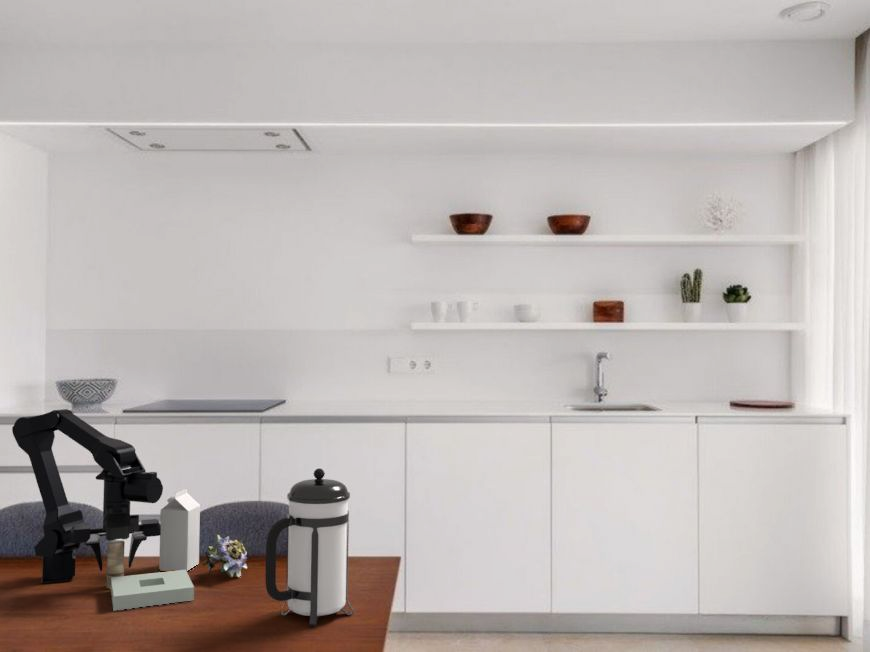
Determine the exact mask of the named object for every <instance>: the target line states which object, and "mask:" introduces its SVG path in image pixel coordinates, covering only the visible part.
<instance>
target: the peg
mask: <svg viewBox="0 0 870 652" xmlns="http://www.w3.org/2000/svg"><path fill="white" fill-rule="evenodd" d="M106 549H107V551H106V587H108V588H111V577H121V576H125V541H124V540H122V539H116V540H111V541H108V542H107V548H106Z"/></svg>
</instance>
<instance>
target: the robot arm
mask: <svg viewBox="0 0 870 652" xmlns="http://www.w3.org/2000/svg"><path fill="white" fill-rule="evenodd" d="M11 431H12V436H13V437H14V439H15V442H16V443H17V447H19V448H20V449H21V450H22V451H23V452H24V453H25V454H27V455H28V457H29V461H30V463H31V467H32V471H33V474H34V477H35V480H36V483H37V487H38V490H39V494H40V497H41V501H42V503H43V506H44V510H45V517H44V521H43V525H42V529H43V535H44V536H43V537H42V538H41V539H40V540H39V541H38V543H37V544H36V545H34V552H35V556H36V557H41V558H42V571H41V573H42V575H41V581H40V583H42V585H43V584H51V583H52V584H54V583H53V582H55V583H62V582H63V581H64V582H72V581H73V580H74V577H75V576H76V555H74V553H73V552H74V550H79V549H80V548H81V545H82V543H84V545H85V546H90V548H91V549H92V551H93V553H94V556H95V559H96V562H97V565H98V568H99V571H103V560H102V551H101V550H102V549H101V543H100V537H104V536H105V540H107V541H108V542H110V541H115V540H128V539H129V538H130V537H131V538H130V543H129V553H128V559H127V561H128V562H127V564H128V568H129V569H130V568H132V565H133V562H134V559H135V555H136V553H137V550H138V549H139V546H140V545H141V544H142V542H143V541H145V542H146V541H147V540H148V538H149V537H158V536H159V537H160V535H161V525H160V520H158V518H153V519H141V520H140V516H139V515H140V514H132V515H131V502H136V503H144V504H145V503H147V504H156V503H157V502H158V501H159V500H160V499H161V498H162V495H163V492H164V491H163V490H164V485H163V484H162V480H161V479H160V478H159V477H158V471H149V472H146V471H147V470H146V469H145V466H144V465H143V464H142V462H141V460H140V458H139V457H138V455H137V453H136V449H135V446H133V445H132V444H130V443H128V442H126V441H124V440H121V439H118V438H115V437H114V438H113V437H109V436H107V435H105V433H102V432H101V431H99V430H97V429H96V428H95V427H94V426H92V425H91V424H89V423H88V422H86V421H85V420H83V419H81V418H80V417H79V416H77V415H75V414H74V412H73V411H72V410H70V409H68V408H63V409H53V410H51V411H49V412H46V413H44V414H43V413H42V414H39V415H31V416H30V415H29V416H21V417H19V418H17V419H16V420H15V421H14V424H13V426H12V429H11ZM56 431H59V432H61V433H62V434H64V435H65V436H66V437H68V438H69V439H71V440H72V441H74V442H75V443H77V444H79V446H81V447H82V448H84V449H85V450H87V451H88V452H89V453H90V454H91V455H92V458H93V461H94V462H95V463H96V464H97V465H98V466H99V467H100V468H101V469H102V470H101V471H100V473H98V474H97V475H96V476H95V479H96V480H99V481H103V499H102V501H103V503H102V504H103V506H102V527H92V528H91V524H90V523H89V524H86V522H85V520H84V517H83V512H82V510H81V509H77V510H74V508H72V507H71V506H70V505H69V501H68V498H67V494H66V492H65V488H64V484H63V482H62V479H61V476H60V475H61V474H60V471H59V469H58V465H57V462H56V460H55V459H56V458H55V456H54V453H53V446H54V441H55V438H56V437H55V432H56ZM130 534H131V536H130ZM71 580H72V581H71Z"/></svg>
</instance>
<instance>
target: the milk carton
mask: <svg viewBox="0 0 870 652" xmlns="http://www.w3.org/2000/svg"><path fill="white" fill-rule="evenodd" d="M166 501H167V502H168V503H167V504H166V505H164V507H162V508H161V509H160V520H159V523H160V525H161V535H159V557H158V558H159V565H158V566H159V567H158V569H160V570H175V571H177V570H186V571H188V570H190V569H191V568H193V567H194V566H196V565H198V564H199V563H200V529H201V528H200V519H201V517H200V516H201V504H200V503H199V502H198V501H196V500H195V499H194V497H192V496H191V495H190V494H189V493H188V488H184V489H183V490H180V491H178V492H175V493H174V495H172V496H170V497H169V498H168V499H167V500H166ZM199 565H200V564H199ZM199 565H198V566H199ZM196 567H197V566H196ZM193 569H194V568H193ZM190 571H191V570H190Z"/></svg>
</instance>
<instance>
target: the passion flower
mask: <svg viewBox="0 0 870 652" xmlns="http://www.w3.org/2000/svg"><path fill="white" fill-rule="evenodd" d="M215 536H216V541H217V544H215V547H216V548H214V546H208V547H207V549H206V550H205V551H204V555H205V556H206V558H207V559H205V560H204V561H203V563H202V566H203V567H204V566H206V565H208V574H209V573H211V570H212V569H213V568H215V566H216V564H218V563H219V562H220V563H221V565H220V568H219V569H220V571H221V572H222V573H224V572H226V574H227V577H229V578H231V579H233V577H234V578H235V577H240V576H241V577H242V571H241V570H248V566H247V563H246V562H247V561H248V560H247V559H248V557H247V554H248V552H247V551H246V547H244V544H243V540H242V539H240V540H239V541H238V540H237V539H234V538H233V539H230V536H227V537H226V536H224V538H222V537H221V535H219V534H216V535H215ZM241 577H240V578H241Z"/></svg>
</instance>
